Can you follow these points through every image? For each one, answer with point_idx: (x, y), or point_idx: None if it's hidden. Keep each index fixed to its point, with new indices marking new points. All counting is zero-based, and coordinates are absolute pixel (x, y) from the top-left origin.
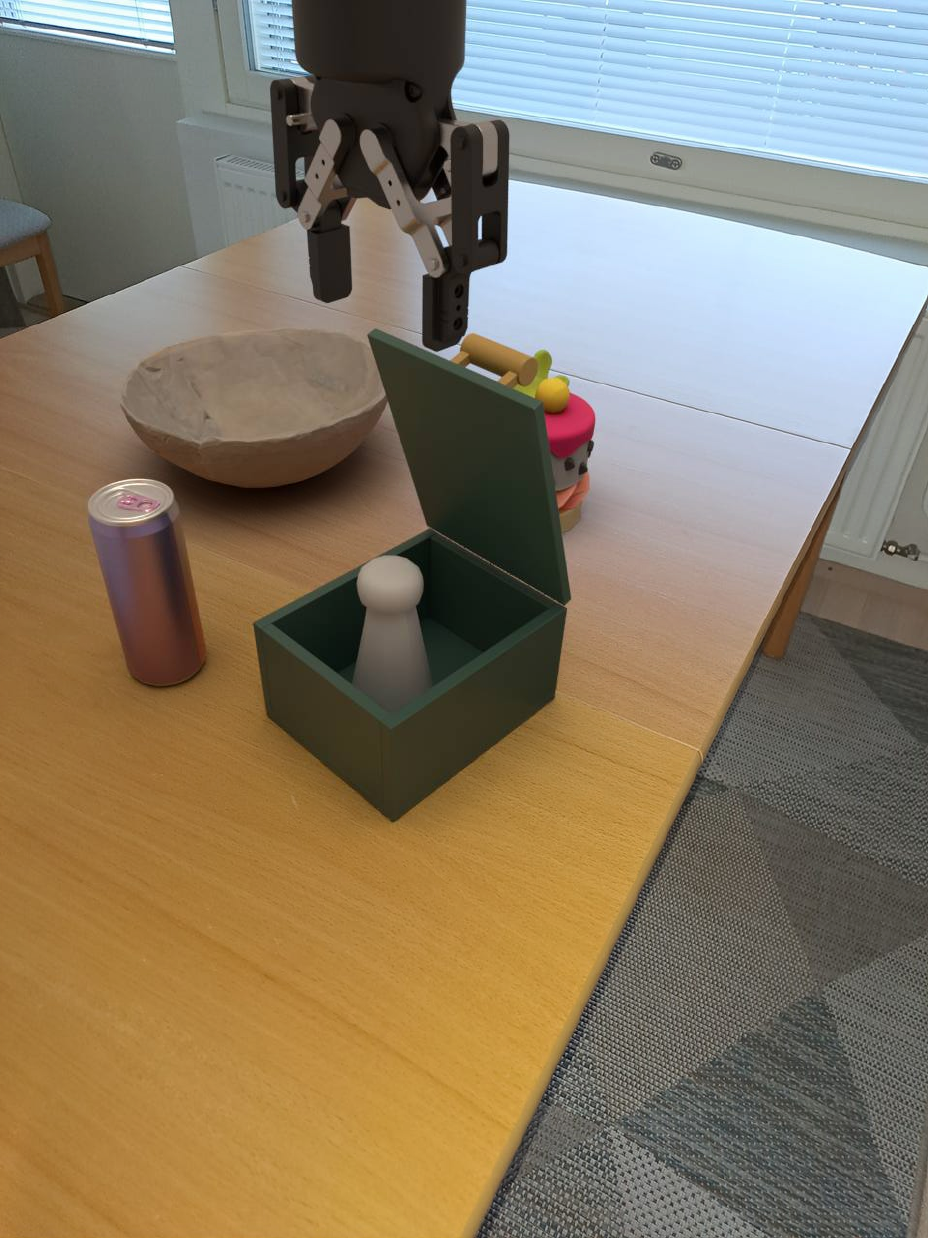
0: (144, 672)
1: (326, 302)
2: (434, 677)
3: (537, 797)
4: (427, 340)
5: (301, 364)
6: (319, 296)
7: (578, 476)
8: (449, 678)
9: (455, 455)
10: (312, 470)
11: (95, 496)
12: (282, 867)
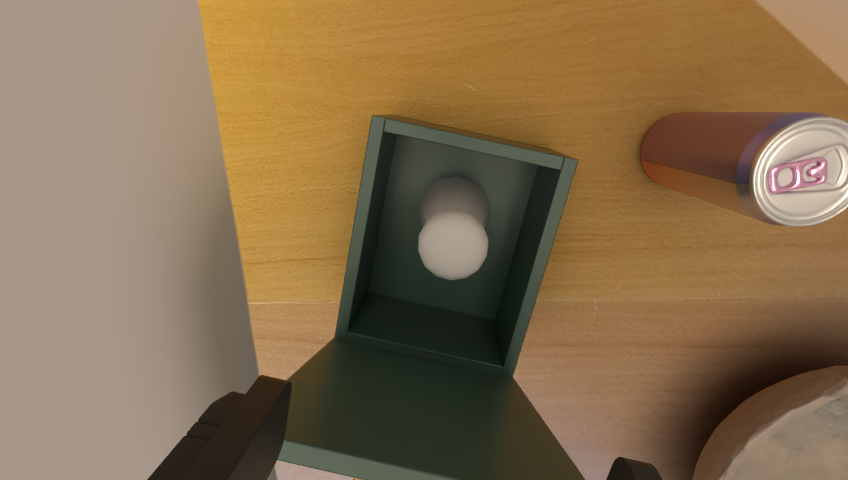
0: (678, 114)
1: (615, 460)
2: None
3: (316, 198)
4: (267, 383)
5: None
6: (633, 462)
7: None
8: (367, 200)
9: (441, 407)
10: (713, 432)
11: None
12: (436, 28)
